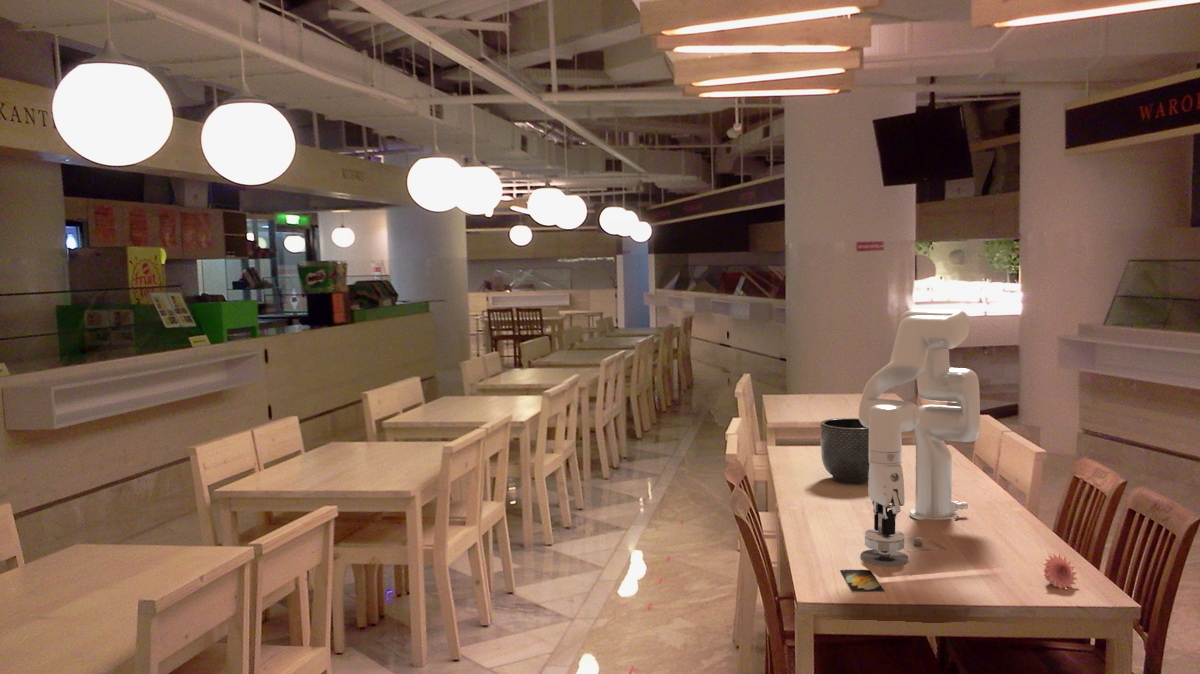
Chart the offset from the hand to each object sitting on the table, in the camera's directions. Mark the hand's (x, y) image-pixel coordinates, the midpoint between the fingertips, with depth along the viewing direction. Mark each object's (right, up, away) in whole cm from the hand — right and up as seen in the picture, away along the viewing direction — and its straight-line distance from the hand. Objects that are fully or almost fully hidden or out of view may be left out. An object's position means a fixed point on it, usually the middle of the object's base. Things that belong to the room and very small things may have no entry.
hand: (884, 531), depth 225 cm
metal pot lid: (0, -8, +1) cm, 8 cm away
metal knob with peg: (0, -3, 0) cm, 3 cm away
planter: (+14, -1, +82) cm, 83 cm away
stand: (+12, -6, +11) cm, 17 cm away
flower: (+33, -9, -17) cm, 39 cm away
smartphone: (-9, -9, -12) cm, 18 cm away
